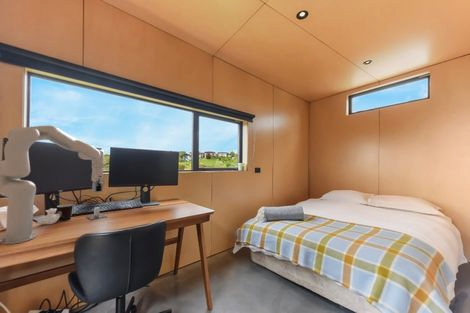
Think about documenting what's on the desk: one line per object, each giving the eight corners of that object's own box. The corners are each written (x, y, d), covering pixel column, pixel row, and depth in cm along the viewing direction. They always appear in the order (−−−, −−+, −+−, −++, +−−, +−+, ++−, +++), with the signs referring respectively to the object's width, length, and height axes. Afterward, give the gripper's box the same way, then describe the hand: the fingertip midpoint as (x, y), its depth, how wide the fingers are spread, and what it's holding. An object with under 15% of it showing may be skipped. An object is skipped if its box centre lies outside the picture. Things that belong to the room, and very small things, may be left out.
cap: (94, 192, 143) (94, 183, 143) (92, 191, 147) (92, 182, 147) (102, 191, 147) (102, 182, 148) (100, 190, 151) (100, 181, 151)
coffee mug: (74, 219, 141) (75, 205, 141) (59, 222, 133) (59, 207, 133) (68, 216, 147) (68, 203, 147) (53, 219, 140) (53, 205, 140)
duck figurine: (38, 230, 125) (44, 217, 123) (33, 221, 127) (39, 208, 125) (60, 224, 136) (67, 212, 134) (55, 216, 138) (62, 204, 136)
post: (90, 220, 140) (91, 210, 140) (86, 217, 146) (86, 207, 146) (106, 217, 148) (107, 207, 148) (102, 214, 154) (102, 205, 154)
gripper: (88, 165, 150) (87, 189, 150) (95, 167, 139) (95, 192, 139) (99, 165, 155) (99, 188, 155) (107, 166, 145) (107, 191, 145)
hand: (97, 190), depth 147 cm, fingers closed on cap, 5 cm apart
